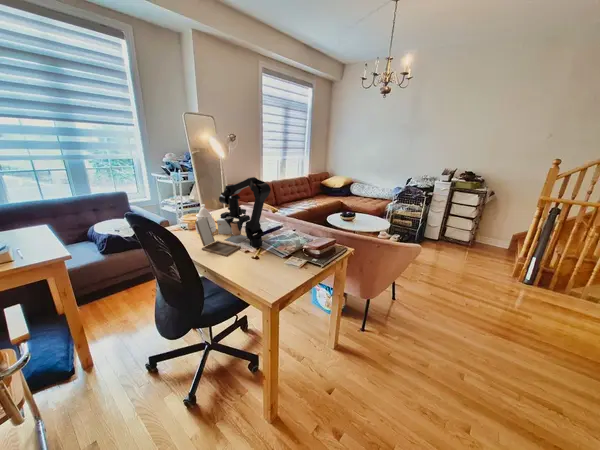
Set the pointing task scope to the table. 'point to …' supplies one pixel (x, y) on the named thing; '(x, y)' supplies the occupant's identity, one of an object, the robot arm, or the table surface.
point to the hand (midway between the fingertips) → (236, 230)
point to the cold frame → (221, 248)
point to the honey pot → (205, 213)
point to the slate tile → (236, 238)
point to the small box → (223, 227)
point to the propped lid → (205, 231)
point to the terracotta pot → (235, 228)
